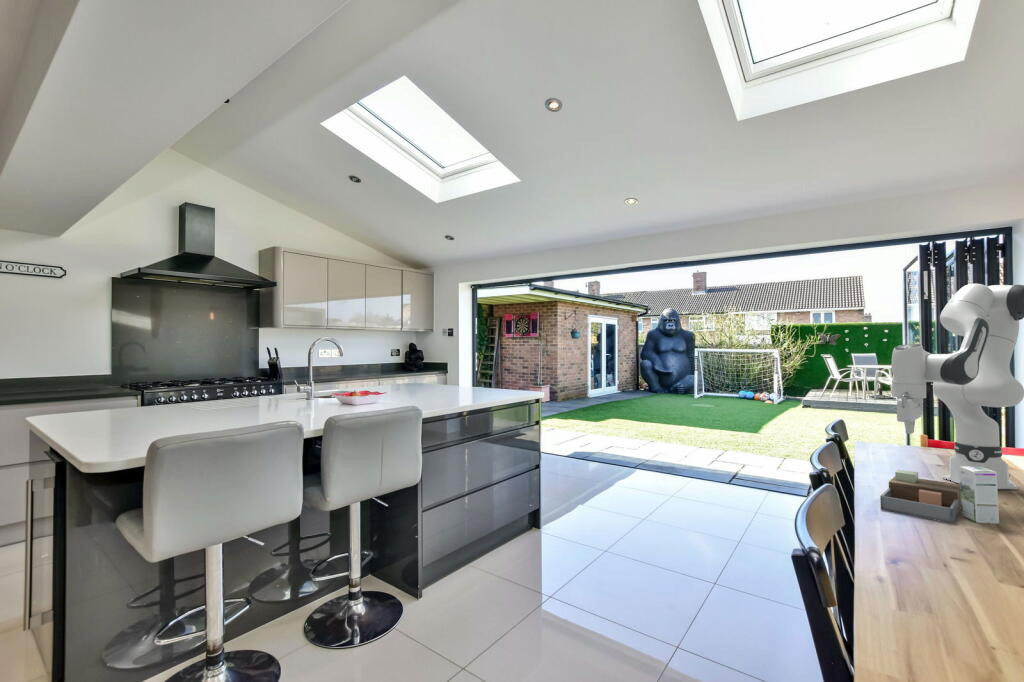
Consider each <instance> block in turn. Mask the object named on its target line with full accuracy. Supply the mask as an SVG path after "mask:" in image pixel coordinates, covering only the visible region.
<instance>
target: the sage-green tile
mask: <svg viewBox="0 0 1024 682" xmlns="http://www.w3.org/2000/svg"><path fill="white" fill-rule="evenodd" d="M894 474H895V476H894V477H895V479H896V480H900V481H906V482H913V483H916V482H917V481H918V478H919V472H918V471H911V470H907V469H906V470H905V469H897V470H896V471H895V473H894Z"/></svg>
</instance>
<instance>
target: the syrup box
mask: <svg viewBox="0 0 1024 682" xmlns="http://www.w3.org/2000/svg"><path fill="white" fill-rule="evenodd" d="M959 469H960V490H961V508H960V510H961V517H964V518H966V519H968V520H970V521H972V522H974V523H977V524H987V523H990V524H992V525H999V524H1000V515H999V514H1000V513H999V494H998V489H997V472H995V471H992V470H989V469H985V468H982V467H975V466H963V467H959Z"/></svg>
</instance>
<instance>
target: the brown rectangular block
mask: <svg viewBox="0 0 1024 682" xmlns="http://www.w3.org/2000/svg"><path fill="white" fill-rule="evenodd" d="M888 488H891V497H892V498H897V499H903V500H908V501H914V502H919V490H920V489H922V490H928V491H934V492H941V493H942V507H947V508H950V507H951V505H952V503H953V501H954V500H955V499H957V500H958V513H959V512H960V510H961V490H960V484H959V483H952V482H946V481H940V480H939V481H938V480H932V479H926V478H925V479H924V478H919V477H918V481H917V482H916V483H913V482H906V481H900V480H896V479H895V476H894V477H893V478H891V479H890V480H889V481H888Z"/></svg>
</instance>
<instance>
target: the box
mask: <svg viewBox="0 0 1024 682" xmlns="http://www.w3.org/2000/svg"><path fill="white" fill-rule="evenodd" d="M880 510H883V511H887V512H892V513H898V514H902V515H907V516H913V517H917V516H918V518H923V517H924V518H923V519H928V518H930V519H929V520H933V519H936V520H935V521H938V520H940V521H939V522H943V521H944V522H943V523H948V522H949V523H948V524H954V523H955V521H954V520H956V518H957V516H958V514H959V512H958V500H957V499H955V500H954V501H953V503H952V505H951V507H950V508H947V507H942V506H936V505H931V504H925V503H919V502H914V501H908V500H903V499H897V498H892V497H891V488H889V487H888V488H887V489H886V490H885V491H884V492H883V493H882V494H881V495H880ZM953 522H954V523H953Z"/></svg>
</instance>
